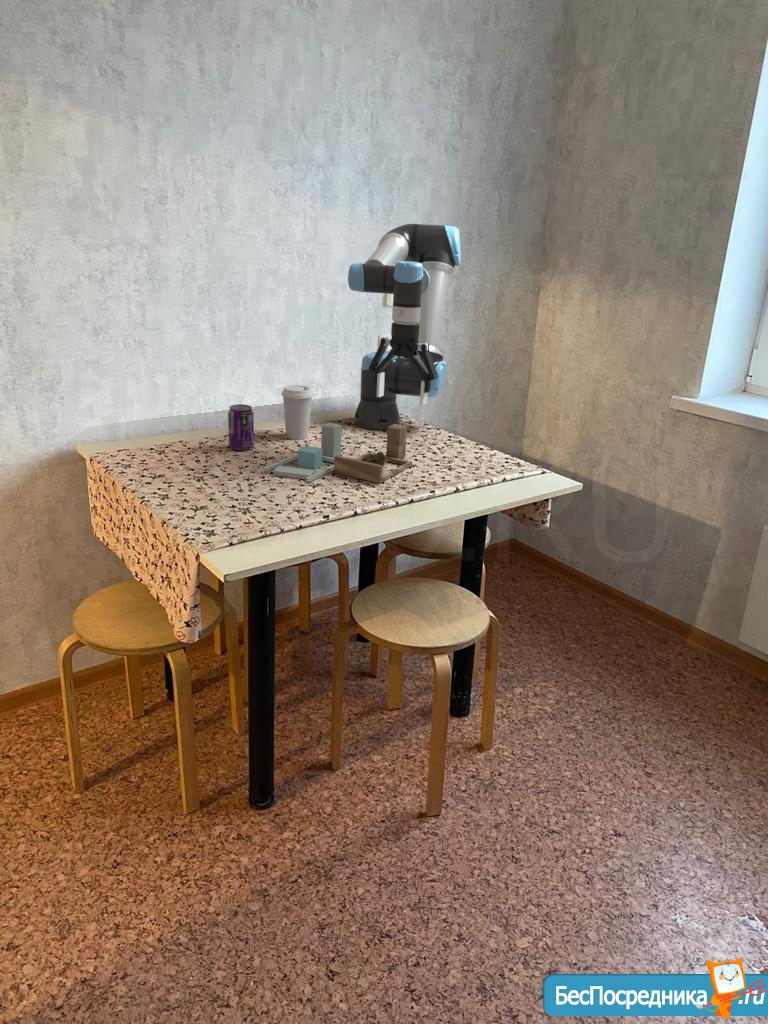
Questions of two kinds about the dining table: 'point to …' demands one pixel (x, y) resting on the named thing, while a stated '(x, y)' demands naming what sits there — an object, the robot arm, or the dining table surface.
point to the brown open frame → (370, 470)
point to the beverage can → (241, 427)
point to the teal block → (310, 458)
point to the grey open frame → (330, 449)
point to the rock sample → (376, 459)
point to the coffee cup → (297, 410)
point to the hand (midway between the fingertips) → (401, 400)
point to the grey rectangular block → (293, 472)
